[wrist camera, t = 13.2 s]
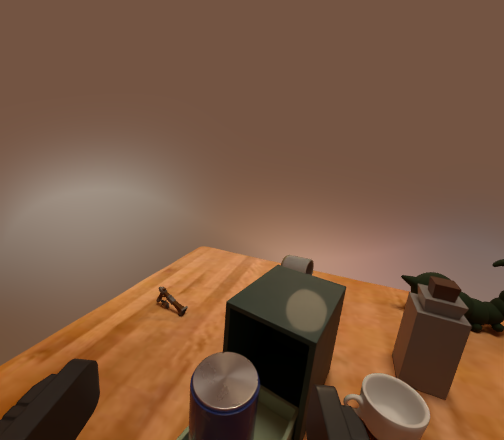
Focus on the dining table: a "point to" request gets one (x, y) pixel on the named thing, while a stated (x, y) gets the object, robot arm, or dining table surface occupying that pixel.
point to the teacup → (391, 408)
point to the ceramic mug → (298, 264)
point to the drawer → (270, 418)
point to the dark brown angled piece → (170, 298)
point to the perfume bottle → (431, 337)
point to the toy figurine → (470, 303)
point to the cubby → (286, 332)
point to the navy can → (223, 398)
